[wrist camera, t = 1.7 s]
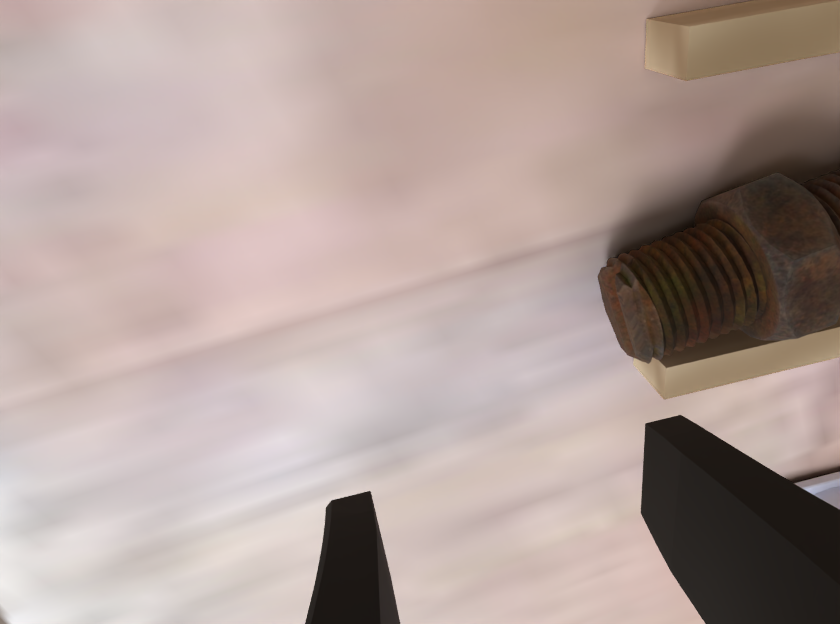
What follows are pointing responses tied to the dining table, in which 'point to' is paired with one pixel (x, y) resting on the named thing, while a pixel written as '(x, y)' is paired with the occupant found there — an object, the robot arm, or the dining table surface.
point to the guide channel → (719, 54)
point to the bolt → (733, 270)
